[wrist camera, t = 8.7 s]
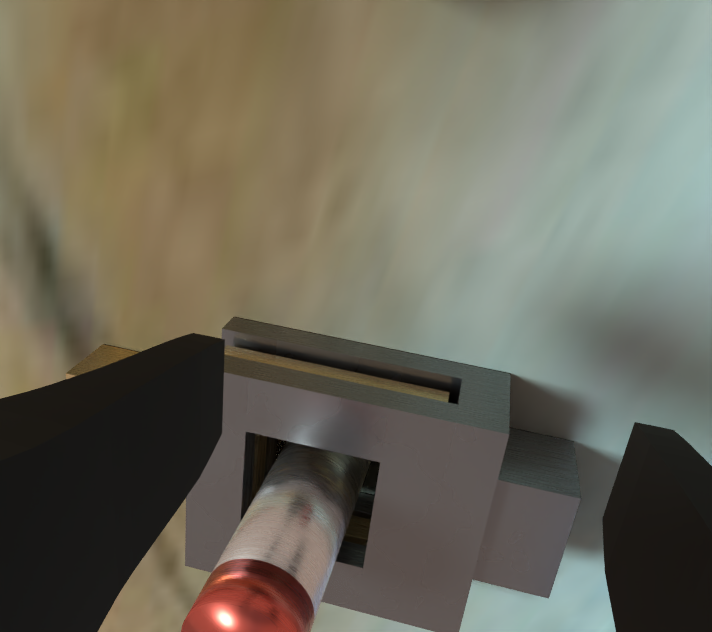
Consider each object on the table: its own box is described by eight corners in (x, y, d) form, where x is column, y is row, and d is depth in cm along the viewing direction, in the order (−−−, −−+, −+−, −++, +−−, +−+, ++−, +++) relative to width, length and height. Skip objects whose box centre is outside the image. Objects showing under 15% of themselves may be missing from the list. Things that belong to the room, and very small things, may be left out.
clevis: (589, 390, 22) (601, 454, 18) (532, 575, 25) (534, 657, 22) (100, 289, 24) (36, 331, 21) (108, 470, 28) (54, 530, 24)
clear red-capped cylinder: (390, 459, 24) (320, 679, 16) (324, 488, 26) (229, 705, 18) (343, 394, 24) (247, 589, 16) (277, 426, 25) (158, 623, 17)
